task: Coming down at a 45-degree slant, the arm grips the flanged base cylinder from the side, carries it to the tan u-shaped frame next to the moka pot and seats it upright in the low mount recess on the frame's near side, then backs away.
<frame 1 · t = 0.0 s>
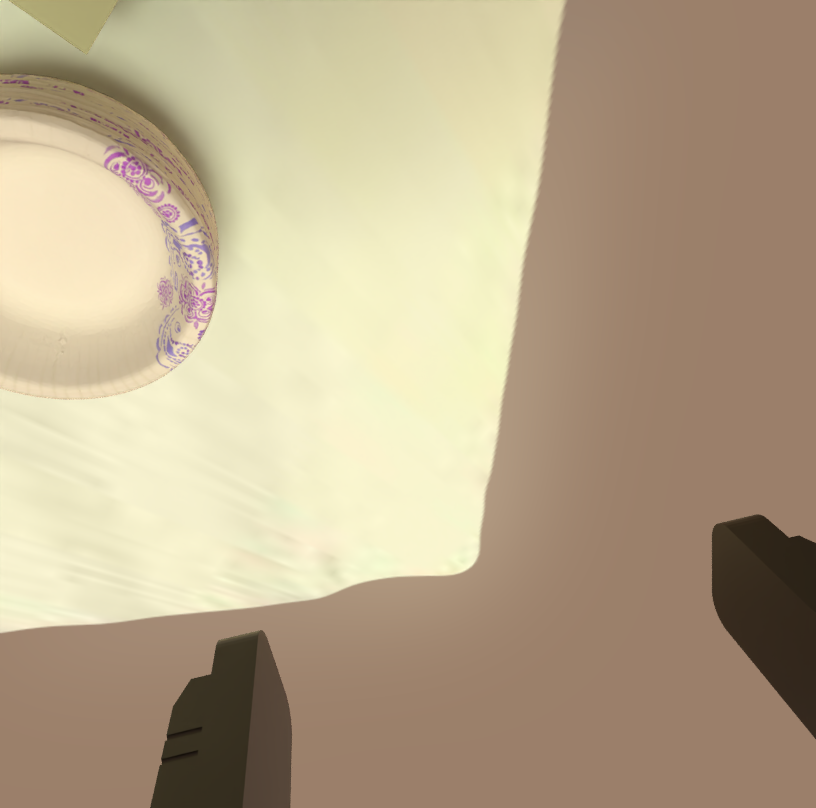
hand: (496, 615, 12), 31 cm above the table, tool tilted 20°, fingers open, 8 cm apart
paper bowls: (73, 200, 37), on the table
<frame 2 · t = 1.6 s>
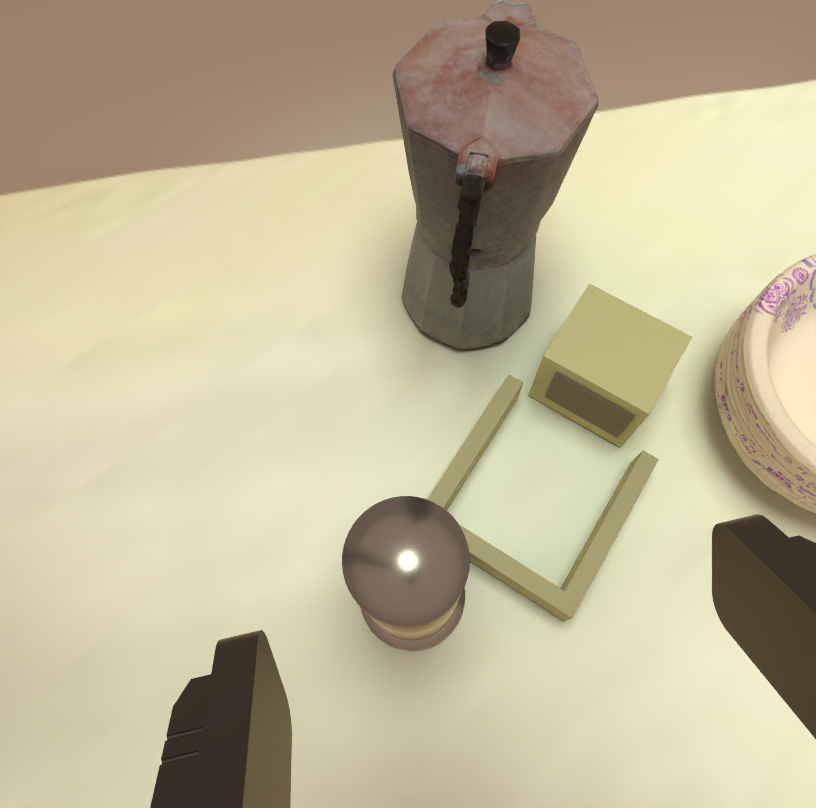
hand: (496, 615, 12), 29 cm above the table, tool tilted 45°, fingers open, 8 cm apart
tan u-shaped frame: (558, 455, 43), on the table
moka pot: (469, 299, 47), on the table
flanged base cylinder: (412, 595, 40), on the table
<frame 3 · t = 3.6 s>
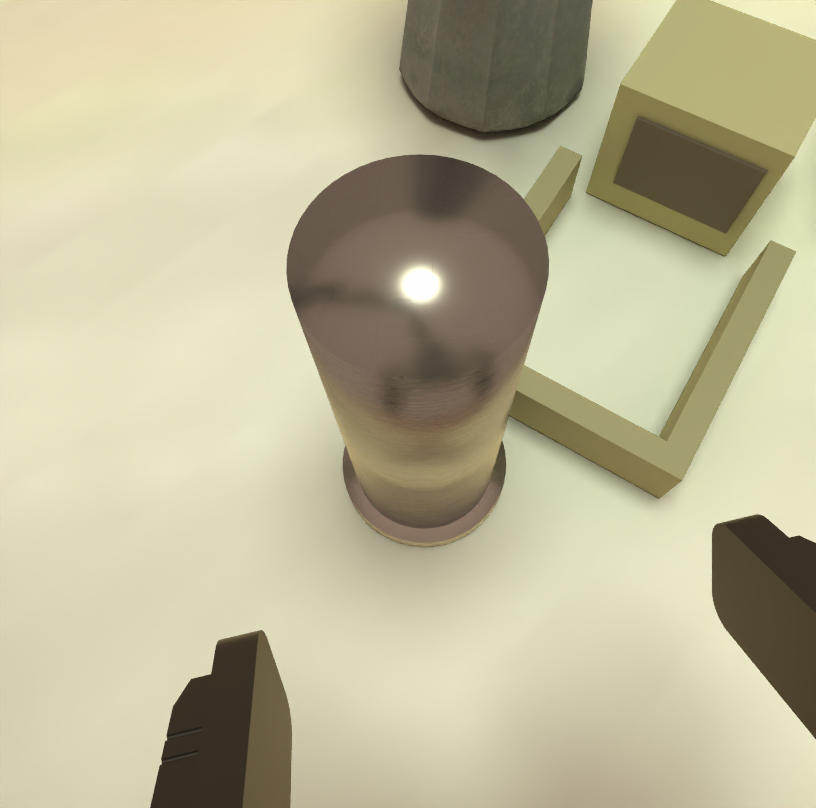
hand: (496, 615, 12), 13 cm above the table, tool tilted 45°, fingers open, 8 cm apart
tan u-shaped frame: (634, 268, 29), on the table
moka pot: (495, 77, 34), on the table
flanged base cylinder: (424, 467, 26), on the table
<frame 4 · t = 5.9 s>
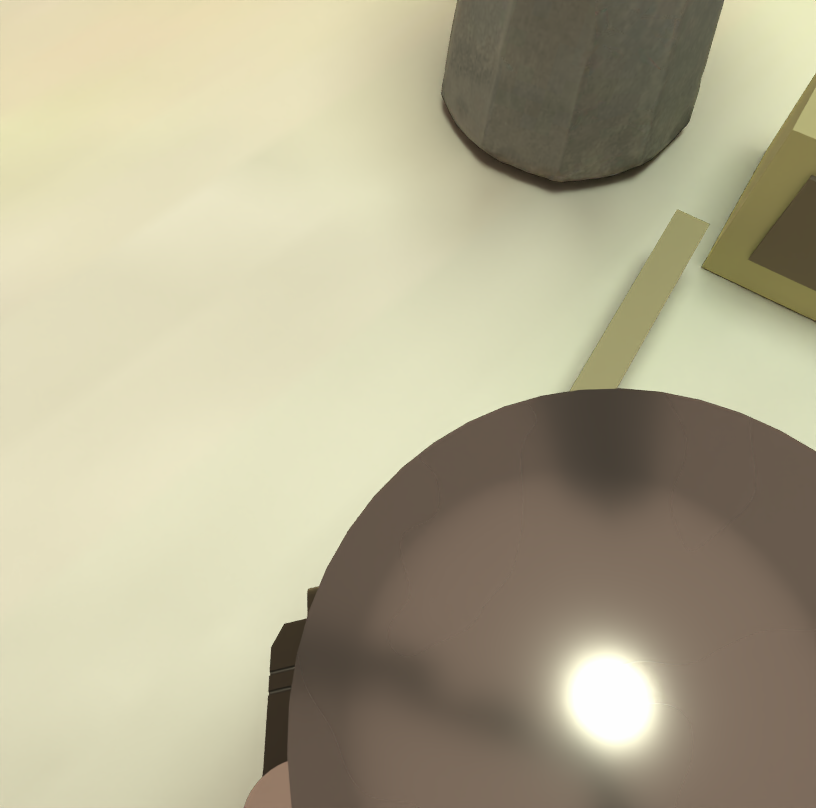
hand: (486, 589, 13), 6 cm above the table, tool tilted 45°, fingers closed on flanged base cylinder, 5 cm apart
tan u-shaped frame: (777, 380, 21), on the table
moka pot: (567, 103, 25), on the table
flanged base cylinder: (488, 689, 18), on the table, touching gripper
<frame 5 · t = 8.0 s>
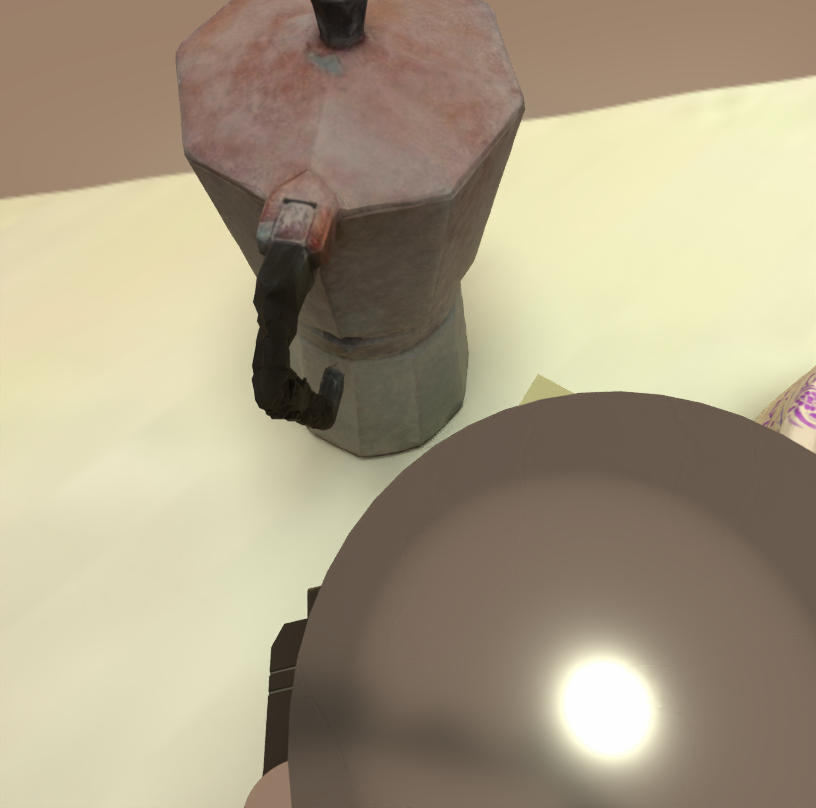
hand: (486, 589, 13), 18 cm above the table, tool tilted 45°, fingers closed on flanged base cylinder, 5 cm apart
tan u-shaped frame: (500, 616, 30), on the table
moka pot: (381, 380, 34), on the table
flanged base cylinder: (488, 690, 18), point 12 cm above the table, touching gripper
when the fingers open (8 cm above the table, at t = 10.2 s): flanged base cylinder drops 1 cm, resting in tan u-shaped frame.
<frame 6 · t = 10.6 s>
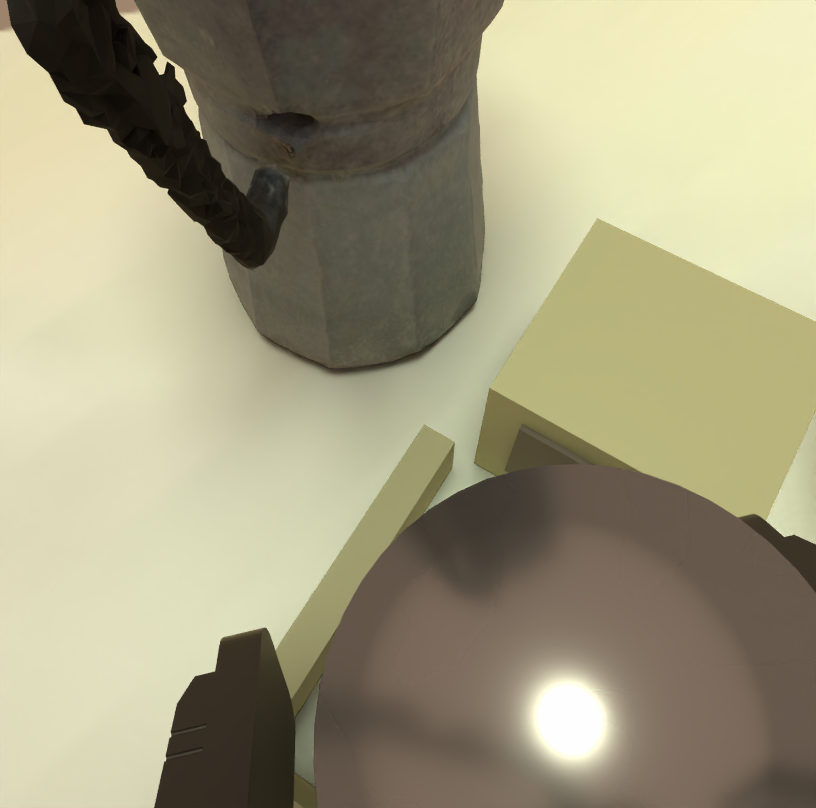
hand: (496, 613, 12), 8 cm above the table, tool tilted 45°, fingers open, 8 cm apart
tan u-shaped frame: (535, 594, 20), on the table
moka pot: (364, 271, 25), on the table
flanged base cylinder: (481, 694, 19), resting in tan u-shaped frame
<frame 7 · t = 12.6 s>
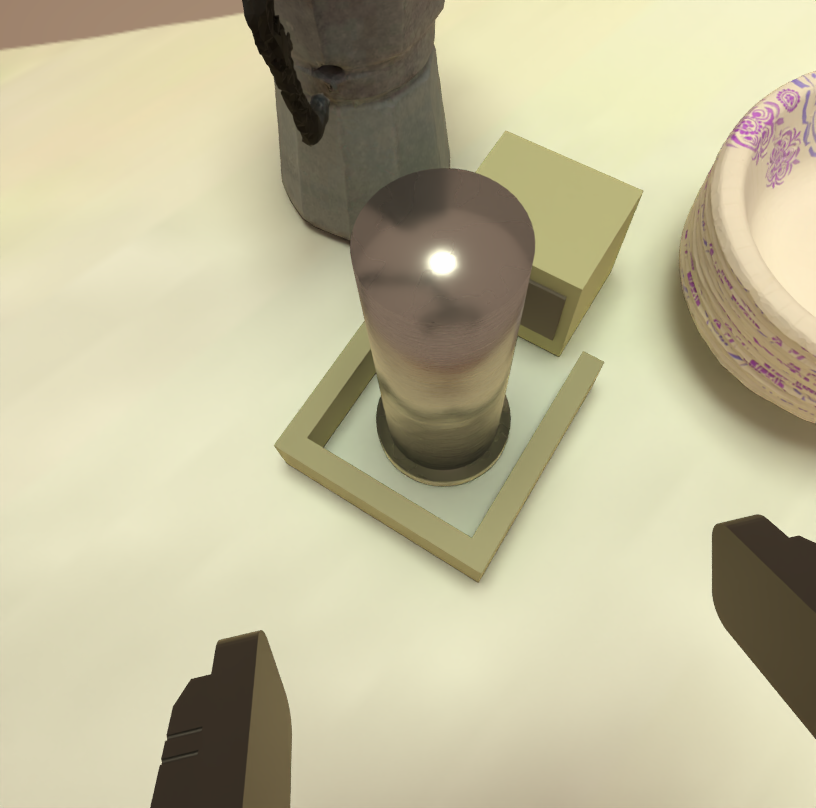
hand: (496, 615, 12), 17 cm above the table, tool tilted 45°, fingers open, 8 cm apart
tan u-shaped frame: (477, 368, 33), on the table
moka pot: (371, 184, 37), on the table
flanged base cylinder: (443, 422, 32), resting in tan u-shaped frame
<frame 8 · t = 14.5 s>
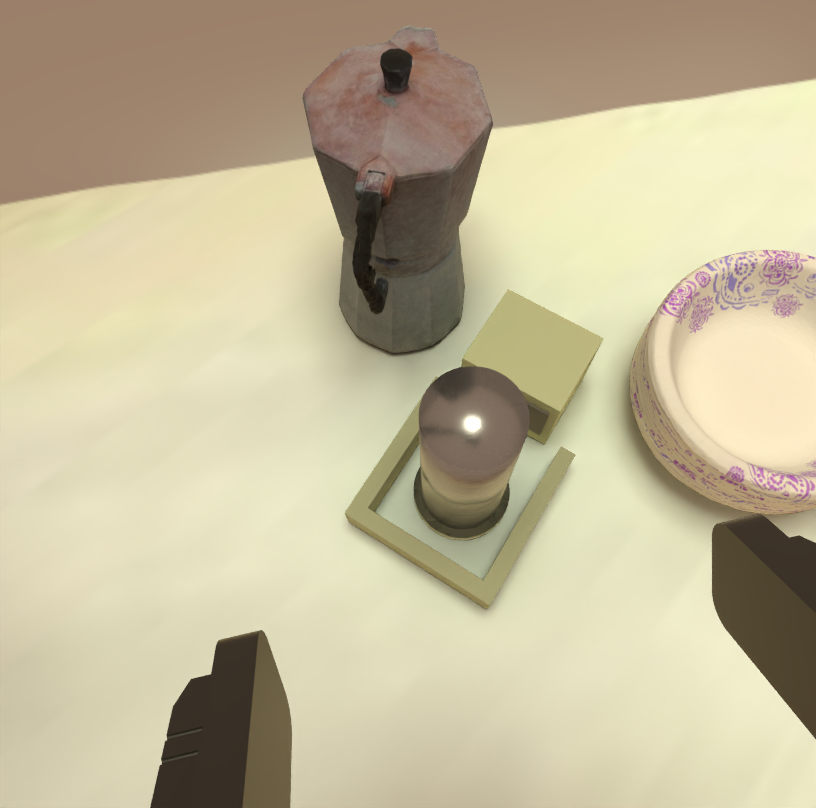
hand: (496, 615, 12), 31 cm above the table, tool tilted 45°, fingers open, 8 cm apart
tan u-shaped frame: (485, 452, 45), on the table
paper bowls: (731, 413, 46), on the table
moka pot: (405, 305, 50), on the table
flanged base cylinder: (460, 493, 44), resting in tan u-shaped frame
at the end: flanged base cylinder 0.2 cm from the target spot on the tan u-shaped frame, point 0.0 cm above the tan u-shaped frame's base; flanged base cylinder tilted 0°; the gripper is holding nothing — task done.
